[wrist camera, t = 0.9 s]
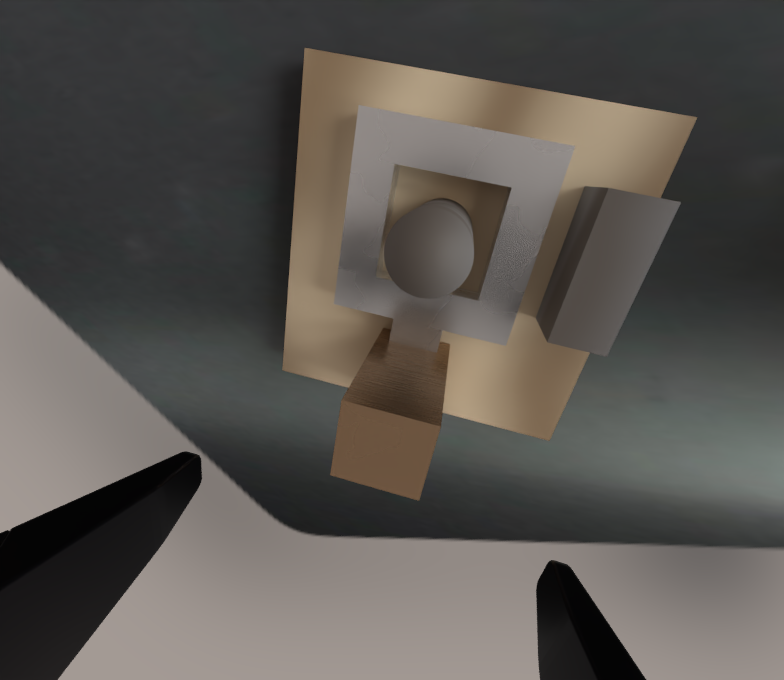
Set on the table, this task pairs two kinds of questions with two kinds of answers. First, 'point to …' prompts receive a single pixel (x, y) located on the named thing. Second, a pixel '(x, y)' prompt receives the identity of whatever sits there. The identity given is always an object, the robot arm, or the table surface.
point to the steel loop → (432, 316)
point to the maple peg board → (480, 232)
